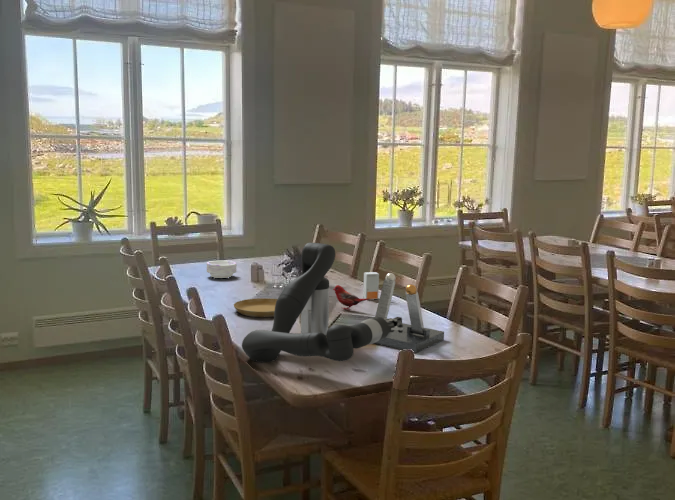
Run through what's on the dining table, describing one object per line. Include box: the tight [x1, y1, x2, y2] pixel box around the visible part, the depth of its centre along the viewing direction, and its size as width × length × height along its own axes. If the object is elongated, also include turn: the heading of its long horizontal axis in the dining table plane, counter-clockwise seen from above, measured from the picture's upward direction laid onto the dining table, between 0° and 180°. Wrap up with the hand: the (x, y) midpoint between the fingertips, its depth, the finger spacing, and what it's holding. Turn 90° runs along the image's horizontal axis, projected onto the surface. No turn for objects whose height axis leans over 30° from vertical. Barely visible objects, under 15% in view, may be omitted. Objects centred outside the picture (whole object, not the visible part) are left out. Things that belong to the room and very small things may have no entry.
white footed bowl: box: [206, 260, 237, 279], centre depth 332 cm, size 15×15×8 cm
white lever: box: [374, 272, 396, 318], centre depth 236 cm, size 4×5×20 cm
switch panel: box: [374, 322, 445, 354], centre depth 230 cm, size 20×26×6 cm
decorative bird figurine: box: [332, 284, 370, 311], centre depth 269 cm, size 3×18×10 cm, turn 59°
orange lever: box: [405, 283, 425, 336], centre depth 221 cm, size 4×5×20 cm
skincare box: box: [362, 271, 380, 301], centre depth 291 cm, size 6×4×12 cm
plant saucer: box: [233, 297, 278, 318], centre depth 265 cm, size 24×24×3 cm
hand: (399, 320), depth 213 cm, fingers closed
